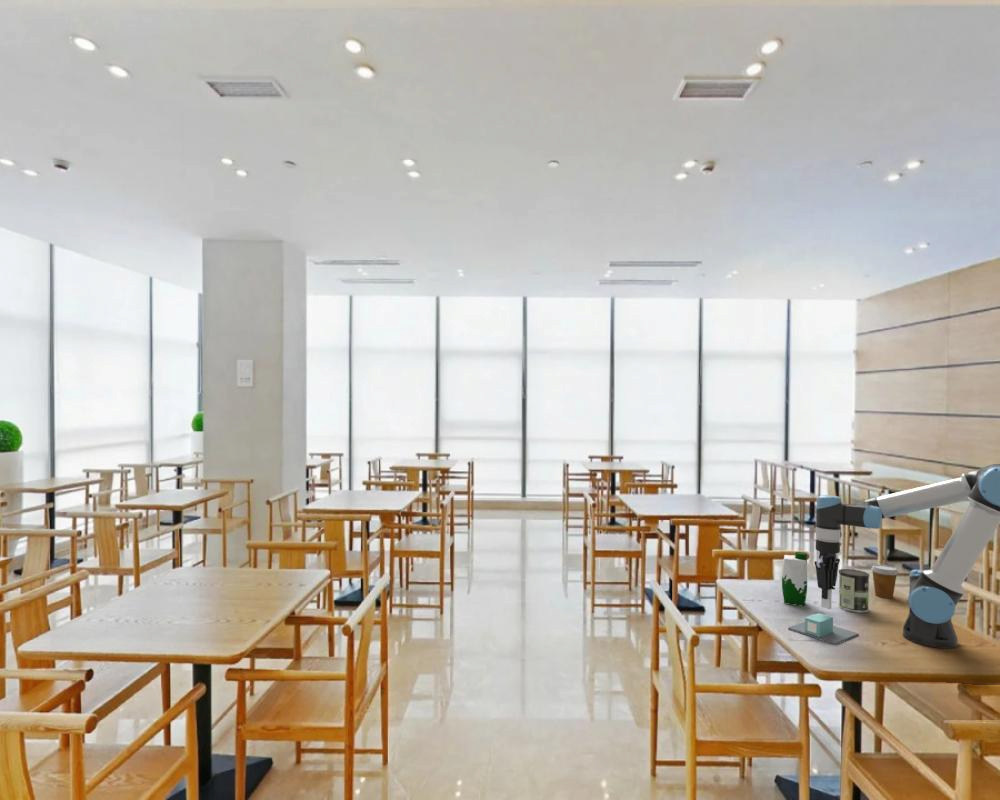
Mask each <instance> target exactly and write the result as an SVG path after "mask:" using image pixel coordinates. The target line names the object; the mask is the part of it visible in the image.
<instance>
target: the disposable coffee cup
mask: <svg viewBox="0 0 1000 800" xmlns="http://www.w3.org/2000/svg"><path fill="white" fill-rule="evenodd" d="M870 569H871V571H872V578H873V579H872V580H873V586H874V587H873V588H874V595H875V596H877V597H879V598H884V599H892V598H894V593H895V587H896V581H897V575H898V573H899V572H898V570H897V568H896V567H894V566H890V565H886V564H873V565H872V567H871V568H870Z"/></svg>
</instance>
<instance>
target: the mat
mask: <svg viewBox="0 0 1000 800" xmlns="http://www.w3.org/2000/svg"><path fill="white" fill-rule="evenodd" d="M789 629H790V631H792V630H793V631H792V632H796V633H799V634H801V635H805V636H806V637H807V636H808V637H811V638H813V637H814V638H813V639H816V638H817V640H819V639H821V640H820V641H823V640H824V641H823V642H825V643H830V644H832V645H835V644H836V645H838V644H841V643H842V641H843V642H845V641H844V640H846V641H848V640H850V639H853V638H855V637H857V635H858V636H859V632H857V631H856V632H855V631H852V630H849V629H847V628H846V629H845V628H842V627H838V626H836V625H833V632H831V633H829V634H826V635H824V636H821V637H818V636H815V635H811V634H808V633H805V621H803V622H800V623H796V624H795V625H792V626H791V625H790V626H788V627H787V630H789ZM852 637H853V638H852ZM849 638H850V639H849ZM847 639H848V640H847ZM840 642H841V643H840Z"/></svg>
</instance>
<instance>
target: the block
mask: <svg viewBox="0 0 1000 800" xmlns="http://www.w3.org/2000/svg"><path fill="white" fill-rule="evenodd" d="M804 622H805V633H808V634H811V635H815V636H818V637H821V636H824V635H826V634H829V633H831V632H833V626H834V617H833V616H829V615H828V614H823V613H821V612H820V613H819V612H818V613H816V614H812V615H808V616H806V617H804Z"/></svg>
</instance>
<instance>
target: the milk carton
mask: <svg viewBox="0 0 1000 800" xmlns="http://www.w3.org/2000/svg"><path fill="white" fill-rule="evenodd" d="M807 557H808V555H807V553H806V552H803V551H795V553H794V555H793V554H791V555H790V554H784V555H783V562H782V568H781V588H782V589H781V591H782V597H783V602H784V604H785V603H789V604H788V605H791V604H796V605H795V606H798V605H802V606H801V607H805V605H806V600H807V594H808V558H807Z"/></svg>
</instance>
